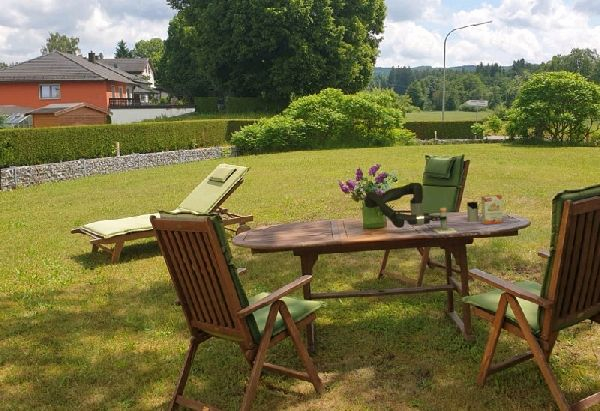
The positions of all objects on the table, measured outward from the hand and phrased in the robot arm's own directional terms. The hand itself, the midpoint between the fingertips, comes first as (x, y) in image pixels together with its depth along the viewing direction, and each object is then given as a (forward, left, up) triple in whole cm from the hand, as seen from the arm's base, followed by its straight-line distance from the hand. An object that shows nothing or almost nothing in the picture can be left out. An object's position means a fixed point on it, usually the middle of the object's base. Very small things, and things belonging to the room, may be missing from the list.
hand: (445, 217), depth 423 cm
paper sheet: (0, -1, -10) cm, 10 cm away
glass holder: (-37, +33, -10) cm, 51 cm away
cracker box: (-20, +40, -10) cm, 46 cm away
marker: (0, -1, -9) cm, 9 cm away
